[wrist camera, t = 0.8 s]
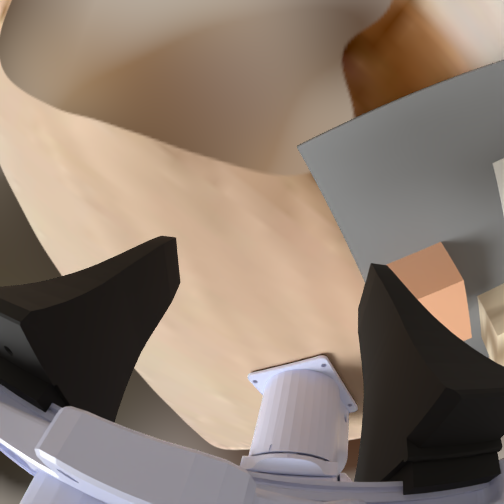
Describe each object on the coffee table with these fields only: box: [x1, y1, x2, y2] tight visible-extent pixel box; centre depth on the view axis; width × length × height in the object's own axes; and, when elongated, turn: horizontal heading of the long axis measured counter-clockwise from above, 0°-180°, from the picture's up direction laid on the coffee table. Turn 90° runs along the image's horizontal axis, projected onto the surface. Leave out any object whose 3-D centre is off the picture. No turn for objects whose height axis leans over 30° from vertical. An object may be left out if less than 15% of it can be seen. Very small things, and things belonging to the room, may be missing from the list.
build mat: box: [297, 60, 504, 357], centre depth 18 cm, size 24×18×1 cm
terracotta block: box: [387, 242, 472, 341], centre depth 18 cm, size 5×5×4 cm
